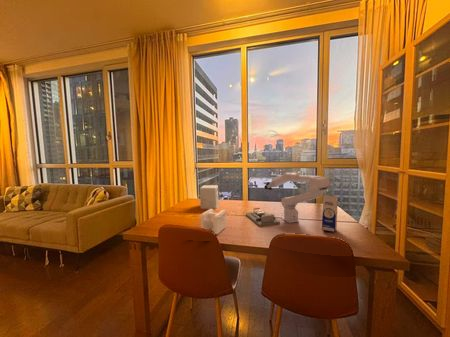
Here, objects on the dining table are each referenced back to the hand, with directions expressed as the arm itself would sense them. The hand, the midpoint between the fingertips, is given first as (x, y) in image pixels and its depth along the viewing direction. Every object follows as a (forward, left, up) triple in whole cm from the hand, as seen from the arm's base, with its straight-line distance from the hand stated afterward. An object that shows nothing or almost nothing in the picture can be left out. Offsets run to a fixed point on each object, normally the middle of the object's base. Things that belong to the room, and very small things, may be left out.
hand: (268, 186), depth 161 cm
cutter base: (-15, +13, -20) cm, 28 cm away
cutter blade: (-10, +13, -18) cm, 24 cm away
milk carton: (-46, -15, -19) cm, 52 cm away
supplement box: (+28, +41, -20) cm, 53 cm away
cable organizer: (-24, +48, -20) cm, 57 cm away
